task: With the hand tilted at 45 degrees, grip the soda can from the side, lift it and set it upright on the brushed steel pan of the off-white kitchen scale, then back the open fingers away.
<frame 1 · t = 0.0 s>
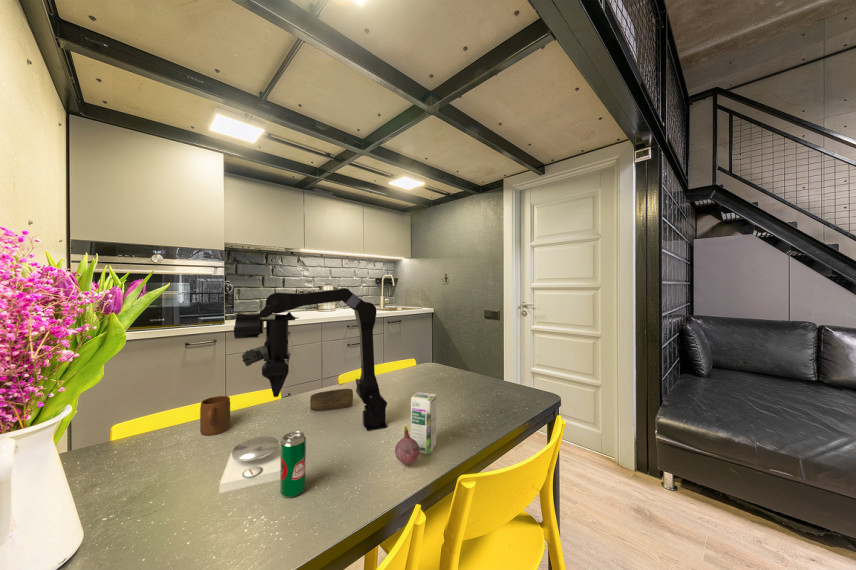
hand: (276, 391, 86), 15 cm above the table, tool pointing down, fingers open, 9 cm apart
vegetable: (407, 466, 76), on the table
soda can: (293, 492, 66), on the table
scale pan: (255, 450, 75), point 4 cm above the table, slide at 0.0 cm
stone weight: (332, 409, 111), on the table
syrup box: (423, 448, 84), on the table
mug: (213, 434, 92), on the table
kitchen scale: (255, 468, 74), on the table
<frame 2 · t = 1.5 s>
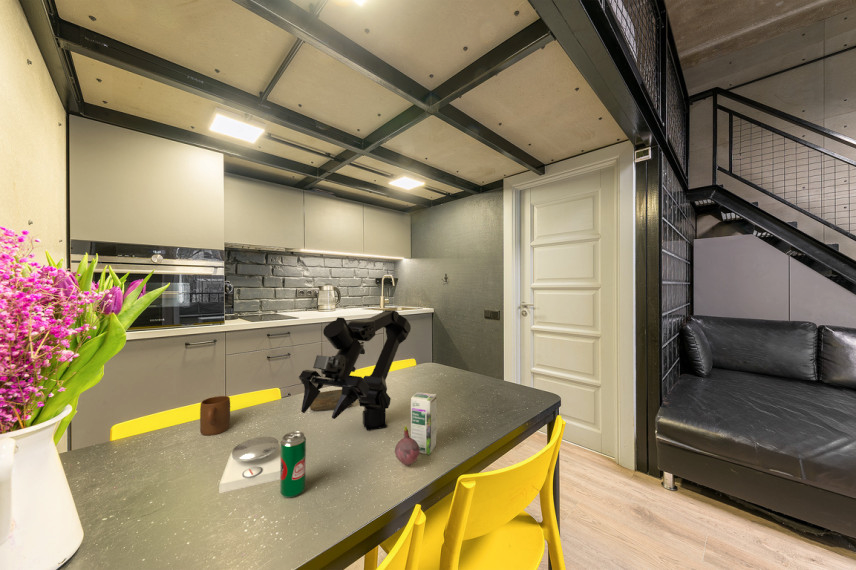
hand: (317, 415, 73), 13 cm above the table, tool tilted 45°, fingers open, 9 cm apart
nothing on the table moved.
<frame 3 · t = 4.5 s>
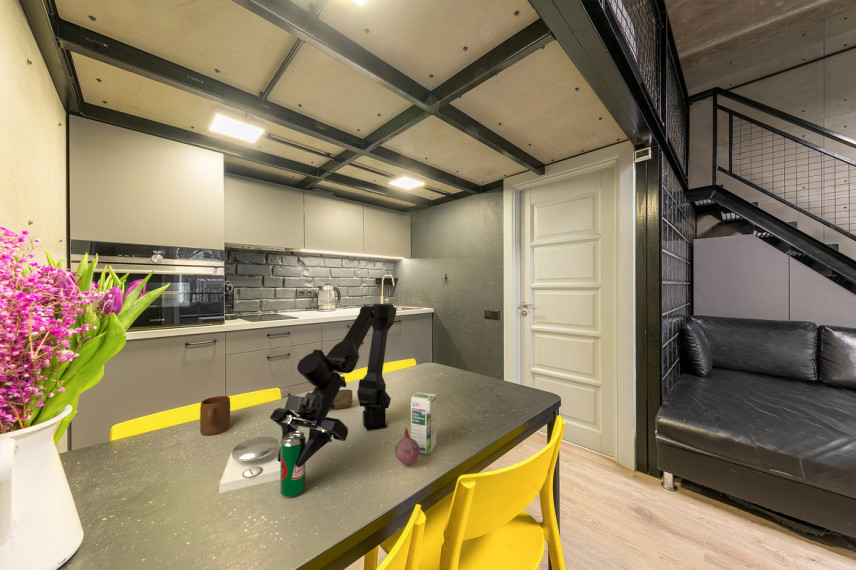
hand: (288, 464, 65), 7 cm above the table, tool tilted 45°, fingers closed on soda can, 5 cm apart
soda can: (293, 492, 66), on the table, touching gripper
everything else where it was.
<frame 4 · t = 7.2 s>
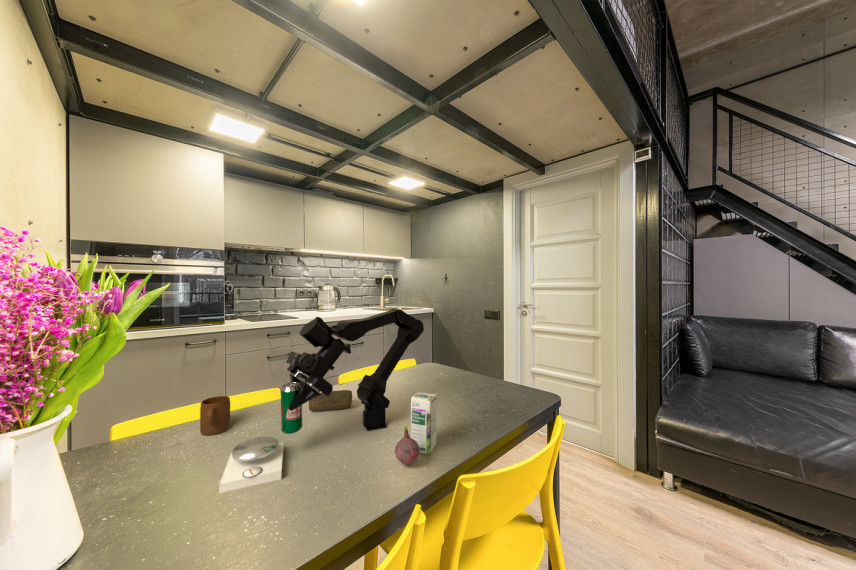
hand: (286, 406, 79), 13 cm above the table, tool tilted 45°, fingers closed on soda can, 5 cm apart
soda can: (292, 430, 80), point 6 cm above the table, touching gripper
everything else where it was.
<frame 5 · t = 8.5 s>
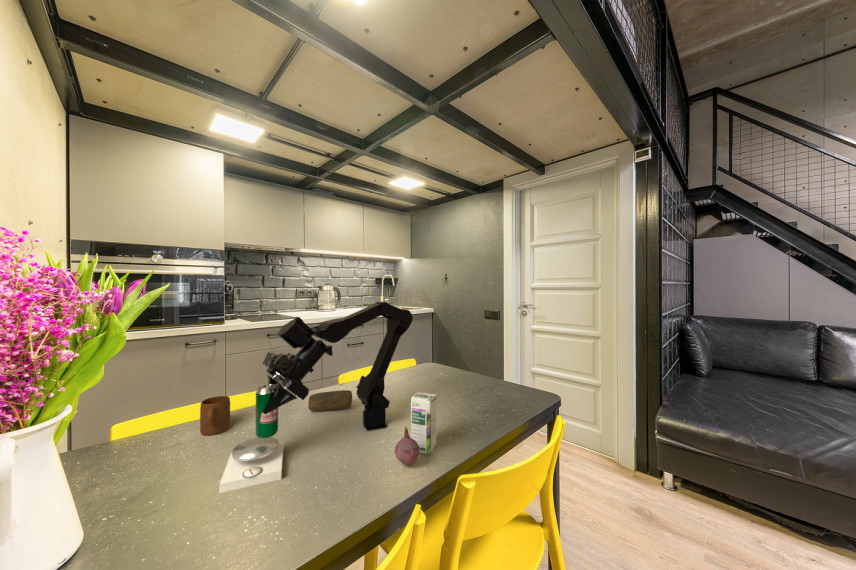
hand: (261, 409, 76), 14 cm above the table, tool tilted 45°, fingers closed on soda can, 5 cm apart
soda can: (267, 435, 77), point 7 cm above the table, touching gripper
when the fingers open (12 cm above the table, at t = 9.7 s): soda can drops 2 cm, resting on scale pan.
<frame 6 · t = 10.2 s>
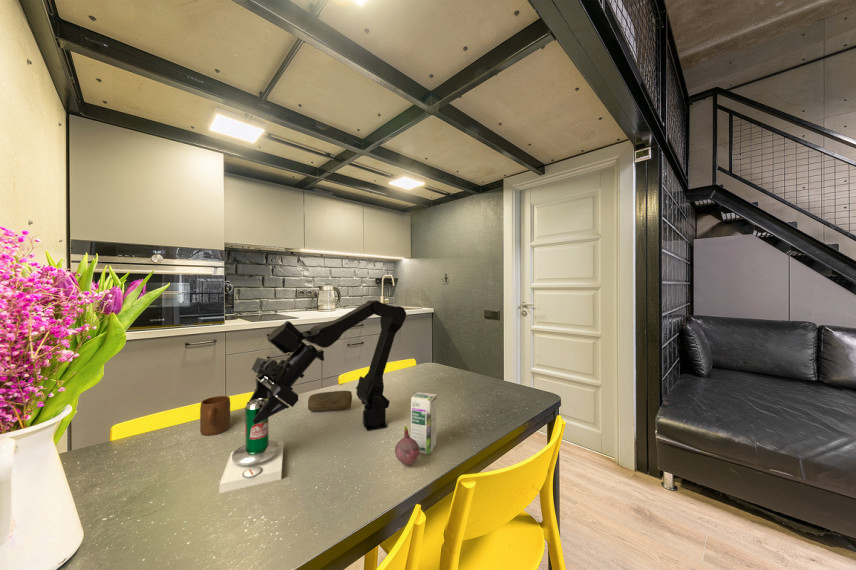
hand: (249, 416, 75), 13 cm above the table, tool tilted 45°, fingers open, 9 cm apart
soda can: (257, 450, 76), point 4 cm above the table, touching scale pan
scale pan: (255, 453, 75), point 3 cm above the table, slide at -0.9 cm, touching kitchen scale, soda can
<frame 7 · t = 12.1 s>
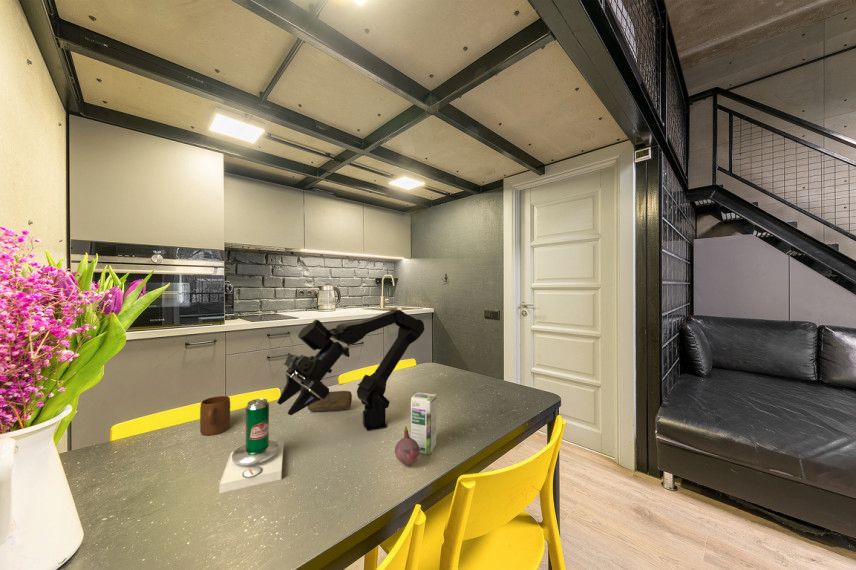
hand: (283, 408, 80), 12 cm above the table, tool tilted 45°, fingers open, 9 cm apart
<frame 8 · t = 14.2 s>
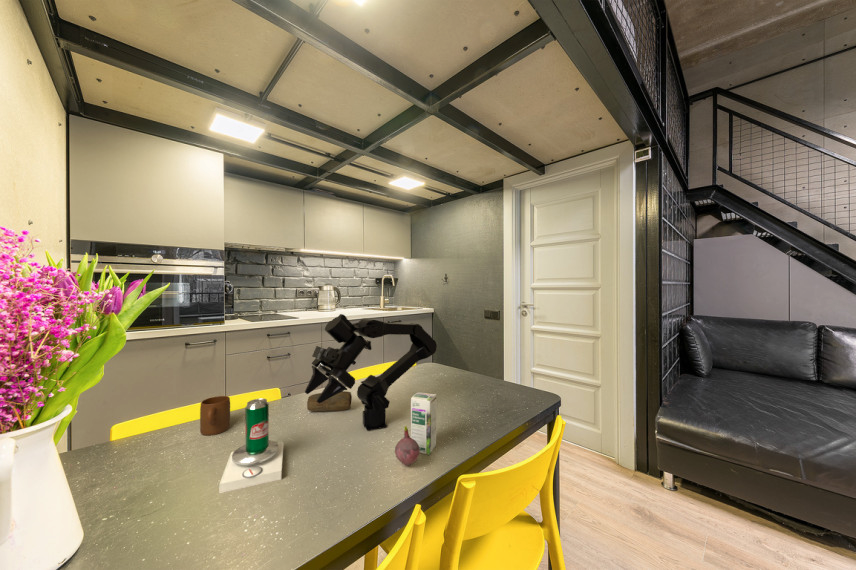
hand: (311, 397, 85), 14 cm above the table, tool tilted 45°, fingers open, 9 cm apart
at the end: soda can 0.3 cm off-centre on the scale pan, point 2.5 cm above the scale pan's base; soda can tilted 1°; the gripper is holding nothing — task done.
